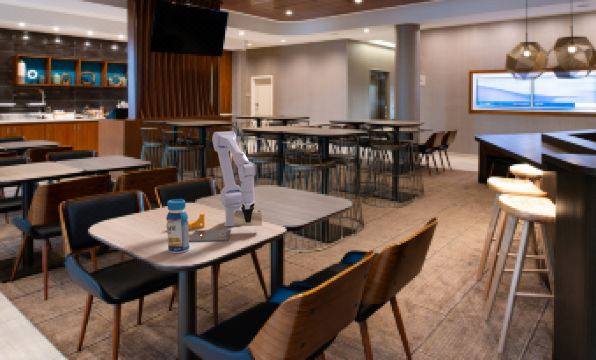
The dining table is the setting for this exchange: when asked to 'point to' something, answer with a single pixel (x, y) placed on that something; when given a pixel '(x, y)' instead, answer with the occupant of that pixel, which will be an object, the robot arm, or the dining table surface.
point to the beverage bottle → (177, 226)
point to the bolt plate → (210, 235)
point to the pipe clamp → (198, 222)
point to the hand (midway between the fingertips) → (248, 220)
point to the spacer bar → (255, 218)
